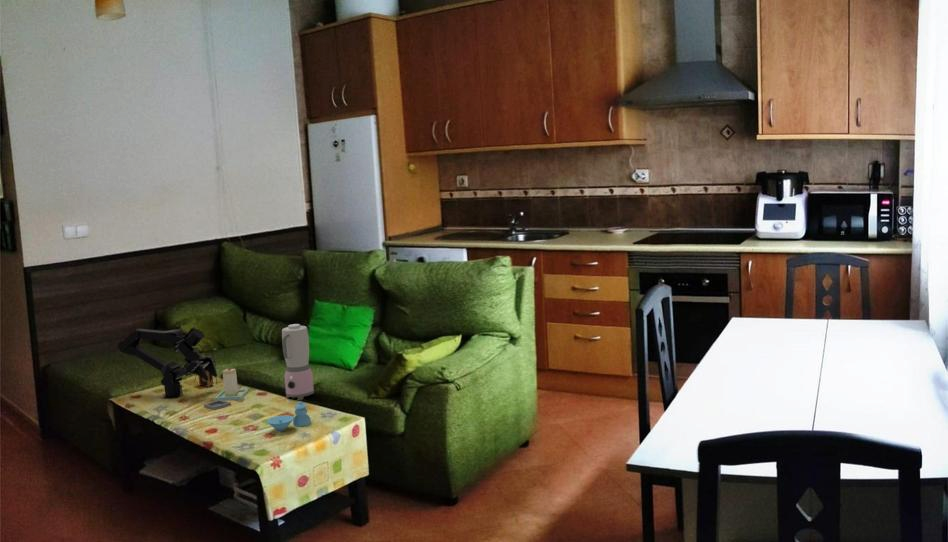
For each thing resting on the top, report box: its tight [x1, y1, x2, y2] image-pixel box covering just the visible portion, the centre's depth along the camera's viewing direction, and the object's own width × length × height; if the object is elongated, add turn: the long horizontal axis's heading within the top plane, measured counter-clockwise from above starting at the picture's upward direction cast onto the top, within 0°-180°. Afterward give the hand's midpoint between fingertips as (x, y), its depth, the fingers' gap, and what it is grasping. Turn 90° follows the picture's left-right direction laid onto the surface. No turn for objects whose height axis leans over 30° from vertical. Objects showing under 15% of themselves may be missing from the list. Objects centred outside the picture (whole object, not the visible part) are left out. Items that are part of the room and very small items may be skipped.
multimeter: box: [194, 344, 218, 387], centre depth 390 cm, size 15×10×20 cm
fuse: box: [221, 368, 239, 397], centre depth 365 cm, size 4×4×12 cm
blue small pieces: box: [266, 400, 312, 432], centre depth 318 cm, size 18×10×9 cm, turn 135°
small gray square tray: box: [203, 400, 232, 411], centre depth 352 cm, size 8×9×2 cm
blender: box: [281, 323, 315, 401], centre depth 358 cm, size 16×12×32 cm
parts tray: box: [214, 388, 249, 401], centre depth 366 cm, size 12×12×2 cm
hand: (212, 378), depth 367 cm, fingers open, 9 cm apart
